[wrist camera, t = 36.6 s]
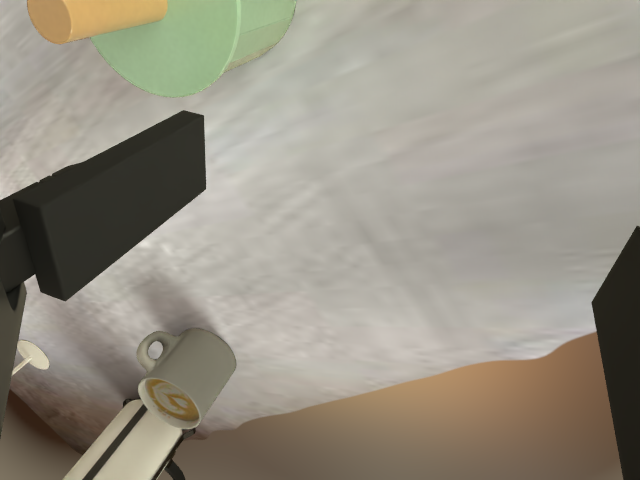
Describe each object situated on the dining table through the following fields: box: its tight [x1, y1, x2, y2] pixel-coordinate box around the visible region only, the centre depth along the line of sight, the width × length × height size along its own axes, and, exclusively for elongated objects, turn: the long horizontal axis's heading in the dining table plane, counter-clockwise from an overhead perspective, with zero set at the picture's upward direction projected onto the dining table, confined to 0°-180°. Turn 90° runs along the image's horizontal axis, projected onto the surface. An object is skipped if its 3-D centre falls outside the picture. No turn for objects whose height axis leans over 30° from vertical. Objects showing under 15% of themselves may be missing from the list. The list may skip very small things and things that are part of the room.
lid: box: [27, 0, 241, 97], centre depth 30 cm, size 14×14×10 cm
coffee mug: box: [137, 328, 236, 429], centre depth 68 cm, size 13×10×10 cm
